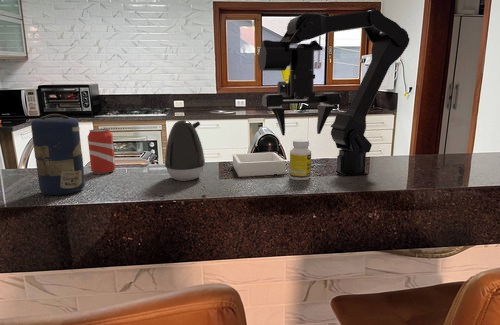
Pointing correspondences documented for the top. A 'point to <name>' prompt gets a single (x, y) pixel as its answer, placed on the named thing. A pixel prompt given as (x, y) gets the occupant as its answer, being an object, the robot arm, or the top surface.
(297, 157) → the supplement bottle
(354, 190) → the top surface
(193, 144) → the pump dispenser
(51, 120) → the canister
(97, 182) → the top surface
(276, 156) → the tray
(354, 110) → the robot arm
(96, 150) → the beverage can
